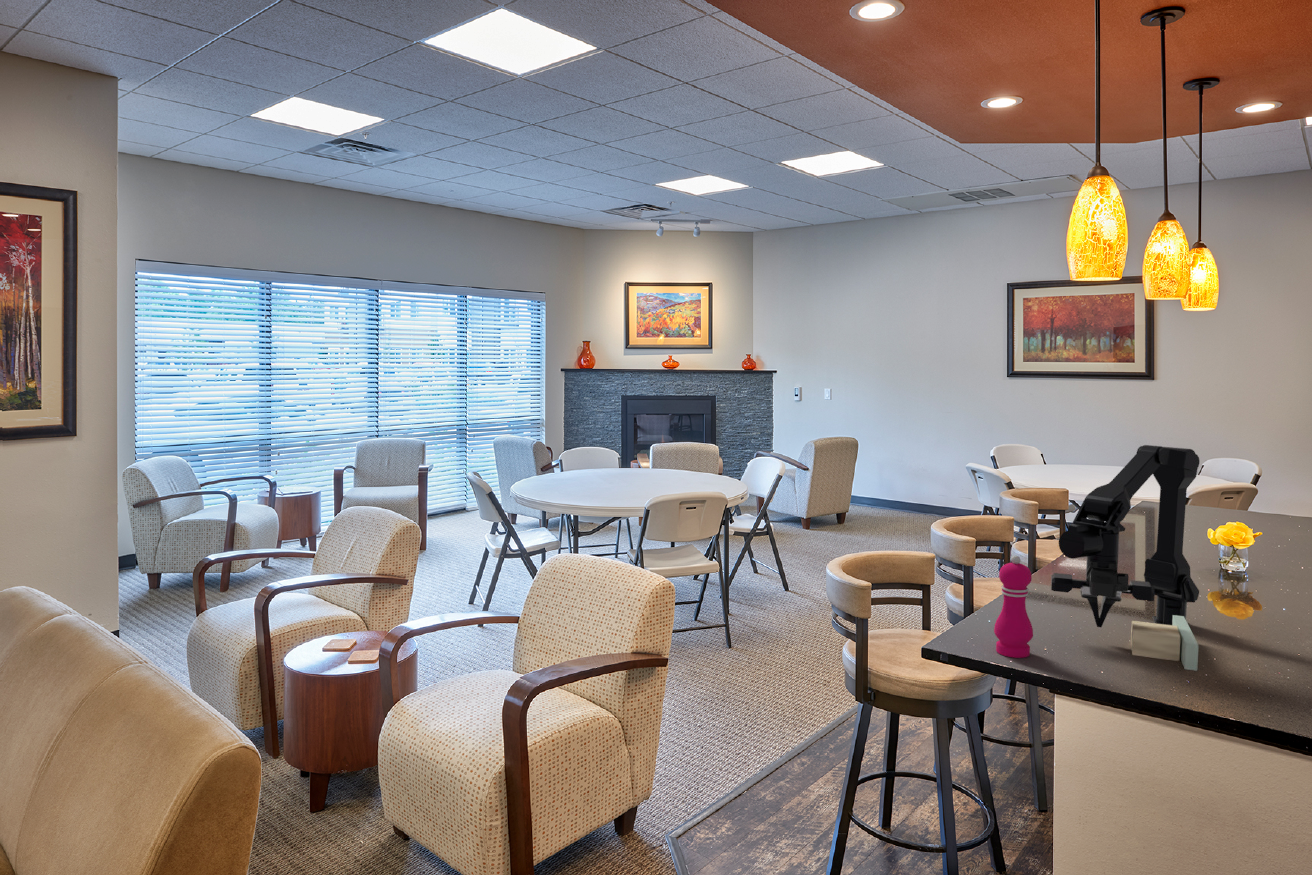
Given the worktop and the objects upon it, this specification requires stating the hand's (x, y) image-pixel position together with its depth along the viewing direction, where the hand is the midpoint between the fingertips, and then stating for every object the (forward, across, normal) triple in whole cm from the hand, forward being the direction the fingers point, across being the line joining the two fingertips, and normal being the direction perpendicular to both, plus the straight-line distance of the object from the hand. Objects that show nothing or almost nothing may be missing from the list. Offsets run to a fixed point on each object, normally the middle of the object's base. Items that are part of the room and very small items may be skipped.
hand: (1099, 626), depth 173 cm
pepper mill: (+4, -16, -14) cm, 22 cm away
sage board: (+3, +15, -1) cm, 15 cm away
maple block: (+3, +10, -2) cm, 11 cm away
